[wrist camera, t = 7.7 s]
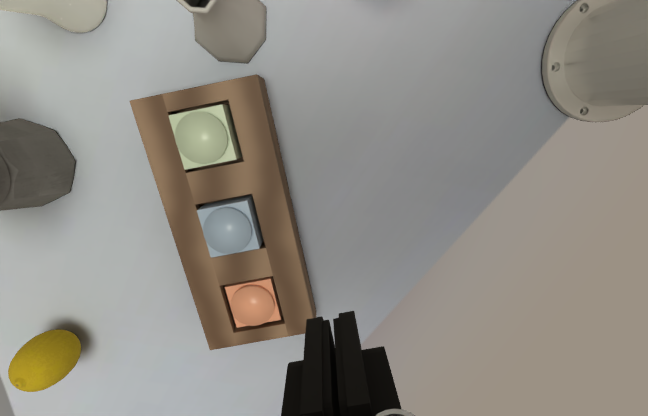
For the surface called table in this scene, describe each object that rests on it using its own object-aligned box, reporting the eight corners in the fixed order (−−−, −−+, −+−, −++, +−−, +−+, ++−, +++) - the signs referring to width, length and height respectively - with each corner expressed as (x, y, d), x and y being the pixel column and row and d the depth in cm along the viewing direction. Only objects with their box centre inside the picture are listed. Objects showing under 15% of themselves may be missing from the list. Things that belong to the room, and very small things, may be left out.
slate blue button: (252, 194, 36) (245, 202, 33) (263, 240, 37) (258, 250, 34) (205, 204, 36) (194, 212, 33) (218, 248, 37) (208, 260, 34)
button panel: (263, 79, 35) (257, 74, 31) (316, 311, 42) (315, 331, 38) (150, 102, 36) (129, 100, 32) (220, 328, 42) (210, 350, 38)
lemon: (47, 314, 42) (-16, 359, 34) (94, 318, 42) (42, 364, 34) (51, 354, 43) (-8, 406, 35) (96, 357, 43) (48, 410, 35)
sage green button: (229, 105, 33) (220, 104, 30) (242, 156, 34) (234, 160, 32) (179, 115, 33) (165, 115, 30) (194, 166, 35) (181, 170, 32)
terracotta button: (273, 268, 39) (269, 281, 36) (283, 307, 40) (280, 323, 37) (230, 276, 39) (223, 290, 36) (241, 315, 40) (235, 330, 37)
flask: (253, 76, 35) (228, 60, 25) (184, 46, 34) (131, 18, 25) (278, 2, 33) (261, -45, 24) (206, -31, 33) (158, -93, 23)
